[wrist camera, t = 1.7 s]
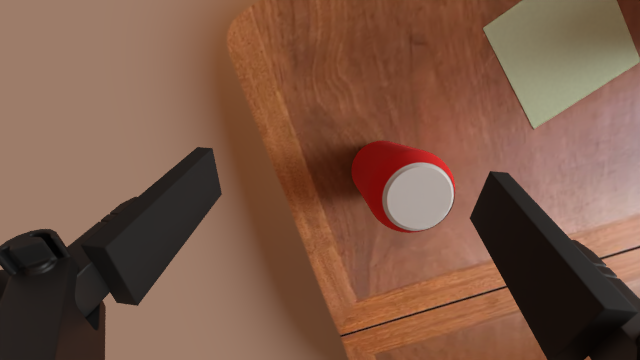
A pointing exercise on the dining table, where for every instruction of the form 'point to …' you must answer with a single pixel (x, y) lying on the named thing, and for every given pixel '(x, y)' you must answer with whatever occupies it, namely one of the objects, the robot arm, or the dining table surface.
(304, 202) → the dining table surface
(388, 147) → the beverage can
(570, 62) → the felt mat
